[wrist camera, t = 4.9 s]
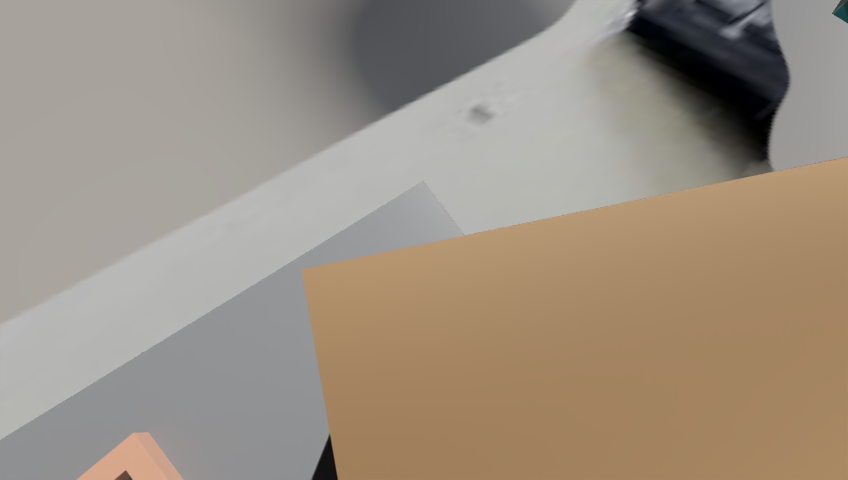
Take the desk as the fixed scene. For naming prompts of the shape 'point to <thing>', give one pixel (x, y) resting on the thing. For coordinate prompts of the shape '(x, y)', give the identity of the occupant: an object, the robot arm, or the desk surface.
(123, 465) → the socket collar
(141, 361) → the baseplate
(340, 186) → the desk surface
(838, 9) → the cake mix box
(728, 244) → the oak pillar
